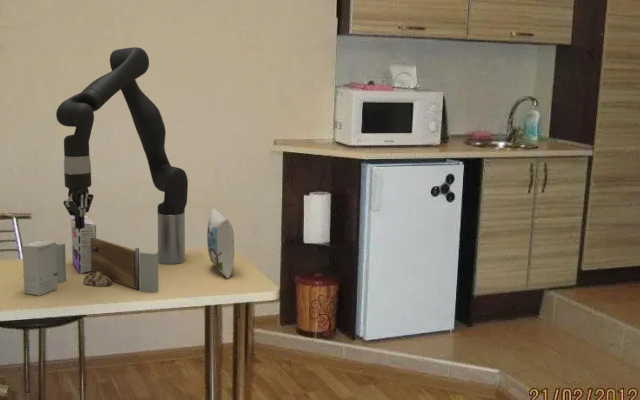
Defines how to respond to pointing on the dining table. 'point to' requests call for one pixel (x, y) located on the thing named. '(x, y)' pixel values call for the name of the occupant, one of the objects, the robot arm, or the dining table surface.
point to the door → (113, 261)
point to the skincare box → (39, 267)
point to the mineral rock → (97, 280)
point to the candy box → (82, 244)
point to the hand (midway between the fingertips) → (80, 228)
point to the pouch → (220, 242)
